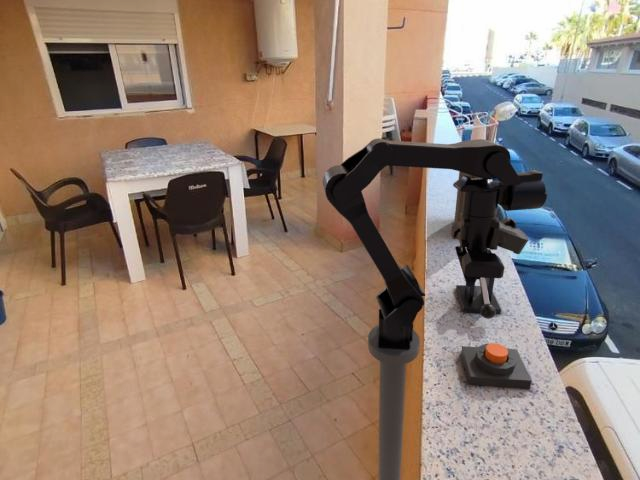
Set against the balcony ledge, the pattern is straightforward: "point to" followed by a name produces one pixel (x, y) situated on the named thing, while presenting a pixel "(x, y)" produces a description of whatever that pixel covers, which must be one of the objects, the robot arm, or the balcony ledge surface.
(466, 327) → the balcony ledge surface
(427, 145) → the robot arm
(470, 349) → the control block
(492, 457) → the balcony ledge surface
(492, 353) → the button
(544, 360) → the balcony ledge surface
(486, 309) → the lever
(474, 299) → the switch mount
